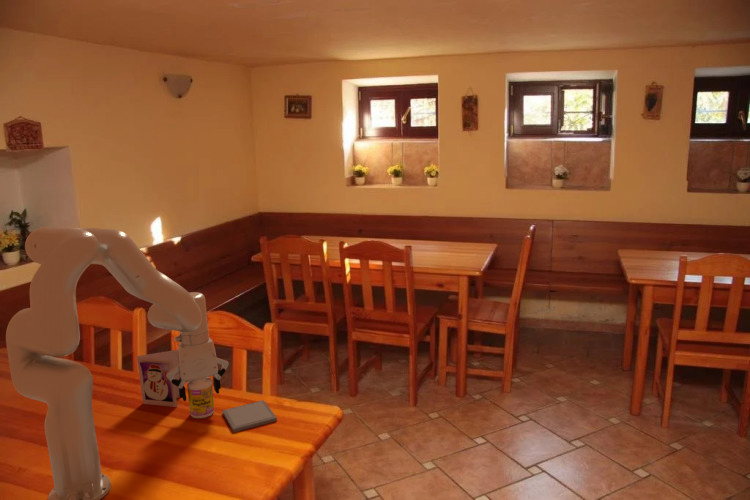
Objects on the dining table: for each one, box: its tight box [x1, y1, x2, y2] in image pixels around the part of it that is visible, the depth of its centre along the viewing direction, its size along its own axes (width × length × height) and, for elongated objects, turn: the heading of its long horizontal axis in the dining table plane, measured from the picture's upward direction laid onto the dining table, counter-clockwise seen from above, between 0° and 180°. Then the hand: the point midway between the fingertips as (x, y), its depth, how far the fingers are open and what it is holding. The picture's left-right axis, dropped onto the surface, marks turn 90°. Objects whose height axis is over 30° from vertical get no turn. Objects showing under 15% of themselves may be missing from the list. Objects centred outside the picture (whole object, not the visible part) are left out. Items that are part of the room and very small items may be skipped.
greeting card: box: [136, 349, 180, 408], centre depth 176 cm, size 11×7×15 cm, turn 76°
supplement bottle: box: [187, 376, 215, 419], centre depth 167 cm, size 7×7×13 cm
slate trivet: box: [222, 399, 278, 433], centre depth 166 cm, size 12×12×1 cm
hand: (200, 395), depth 167 cm, fingers open, 8 cm apart
